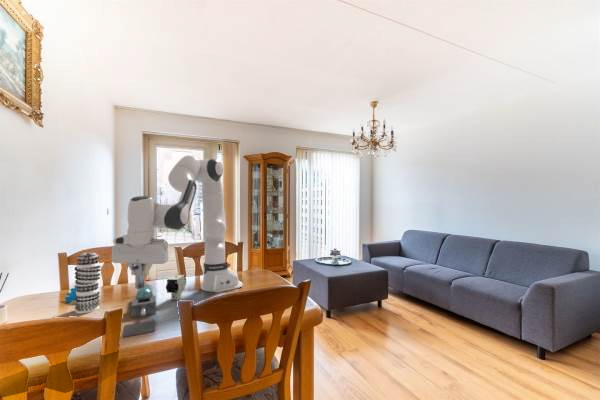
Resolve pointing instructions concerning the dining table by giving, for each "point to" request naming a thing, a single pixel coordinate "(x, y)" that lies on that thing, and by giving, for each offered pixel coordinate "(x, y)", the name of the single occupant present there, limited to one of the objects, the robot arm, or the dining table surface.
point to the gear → (71, 295)
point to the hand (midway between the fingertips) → (140, 274)
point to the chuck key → (139, 275)
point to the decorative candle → (87, 282)
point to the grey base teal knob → (143, 302)
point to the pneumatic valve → (176, 286)
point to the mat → (139, 328)
